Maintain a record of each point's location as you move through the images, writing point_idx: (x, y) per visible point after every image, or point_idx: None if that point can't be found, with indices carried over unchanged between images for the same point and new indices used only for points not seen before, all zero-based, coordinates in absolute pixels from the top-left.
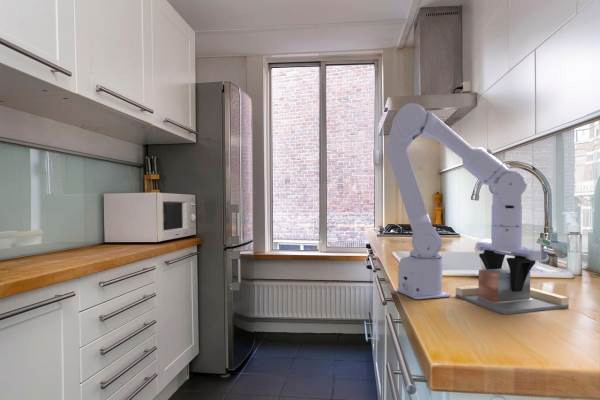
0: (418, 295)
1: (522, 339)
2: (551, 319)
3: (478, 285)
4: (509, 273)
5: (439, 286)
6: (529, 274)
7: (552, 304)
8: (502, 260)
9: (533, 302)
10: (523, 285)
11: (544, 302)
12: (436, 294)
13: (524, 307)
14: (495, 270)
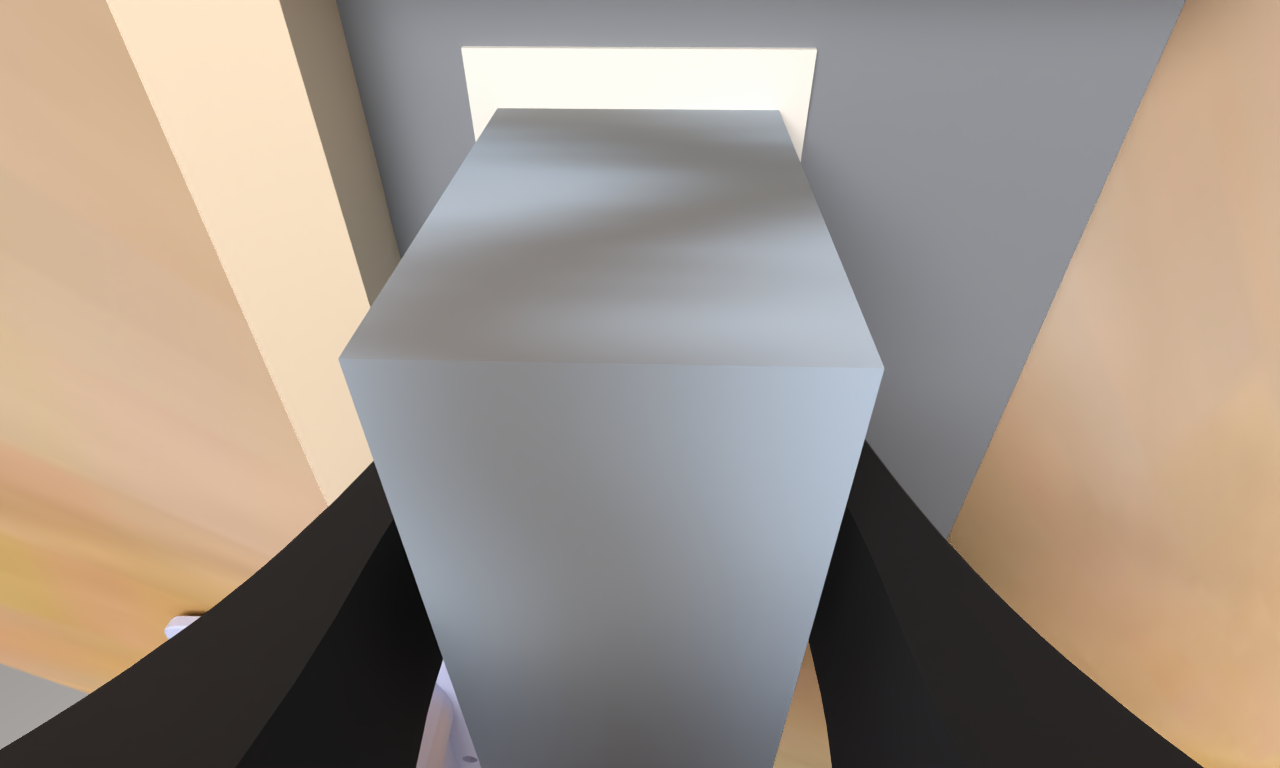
0: (455, 763)
1: (1164, 734)
2: (1202, 416)
3: (315, 474)
4: (780, 722)
5: (422, 752)
6: (859, 342)
7: (1104, 17)
8: (265, 753)
9: (893, 201)
10: (880, 461)
11: (979, 36)
12: (448, 706)
13: (943, 440)
14: (580, 763)
